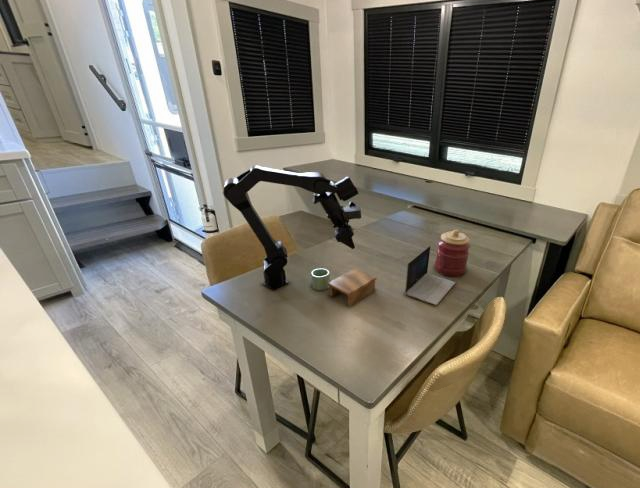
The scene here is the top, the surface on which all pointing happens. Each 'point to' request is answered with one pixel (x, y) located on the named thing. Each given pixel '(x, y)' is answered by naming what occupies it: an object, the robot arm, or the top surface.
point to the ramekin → (320, 279)
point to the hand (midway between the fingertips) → (352, 242)
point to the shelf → (353, 285)
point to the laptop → (425, 280)
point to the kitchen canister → (452, 253)
